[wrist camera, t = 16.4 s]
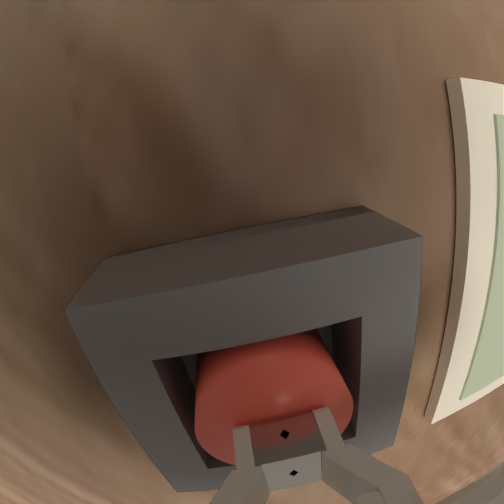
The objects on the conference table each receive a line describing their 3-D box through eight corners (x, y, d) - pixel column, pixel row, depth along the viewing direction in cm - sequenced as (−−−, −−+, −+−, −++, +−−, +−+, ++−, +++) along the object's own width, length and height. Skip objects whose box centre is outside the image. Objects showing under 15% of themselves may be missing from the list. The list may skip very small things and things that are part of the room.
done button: (214, 412, 13) (217, 476, 9) (180, 321, 11) (172, 388, 8) (324, 388, 13) (350, 447, 10) (318, 292, 11) (355, 349, 8)
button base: (179, 430, 15) (177, 492, 11) (105, 258, 11) (63, 310, 7) (363, 391, 15) (393, 445, 11) (362, 205, 12) (422, 236, 8)
